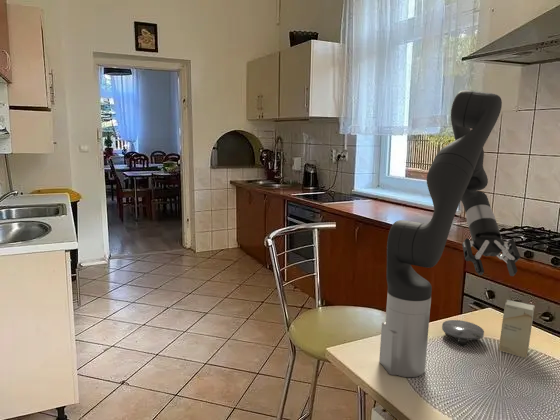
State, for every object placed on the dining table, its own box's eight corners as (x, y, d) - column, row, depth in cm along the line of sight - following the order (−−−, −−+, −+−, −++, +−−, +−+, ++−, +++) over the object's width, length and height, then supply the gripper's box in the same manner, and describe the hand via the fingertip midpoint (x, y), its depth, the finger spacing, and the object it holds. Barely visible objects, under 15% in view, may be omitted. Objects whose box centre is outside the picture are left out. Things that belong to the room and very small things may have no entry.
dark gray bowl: (455, 348, 108) (456, 337, 107) (434, 331, 117) (435, 320, 117) (491, 346, 109) (492, 335, 109) (467, 329, 119) (468, 319, 119)
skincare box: (498, 351, 107) (503, 304, 105) (501, 344, 111) (506, 298, 109) (527, 358, 103) (533, 310, 102) (529, 351, 107) (535, 304, 105)
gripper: (462, 216, 123) (476, 266, 113) (512, 217, 123) (530, 268, 113) (453, 230, 129) (466, 280, 119) (501, 231, 129) (517, 281, 119)
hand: (497, 274), depth 116 cm, fingers open, 8 cm apart
